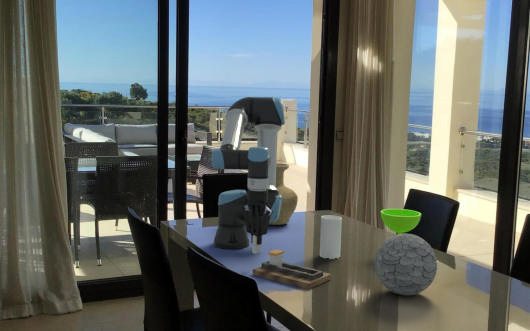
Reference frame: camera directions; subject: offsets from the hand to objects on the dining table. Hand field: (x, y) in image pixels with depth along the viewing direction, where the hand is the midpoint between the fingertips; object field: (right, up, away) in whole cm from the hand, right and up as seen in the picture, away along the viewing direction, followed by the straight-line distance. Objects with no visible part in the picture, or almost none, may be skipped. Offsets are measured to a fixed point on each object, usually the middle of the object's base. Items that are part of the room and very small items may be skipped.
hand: (256, 252), depth 215 cm
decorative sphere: (+49, -10, -23) cm, 55 cm away
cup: (+29, -5, +20) cm, 36 cm away
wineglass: (+58, -5, +22) cm, 62 cm away
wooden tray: (+13, -7, -9) cm, 17 cm away
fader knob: (+7, -5, -5) cm, 10 cm away
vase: (+8, +3, +77) cm, 78 cm away
